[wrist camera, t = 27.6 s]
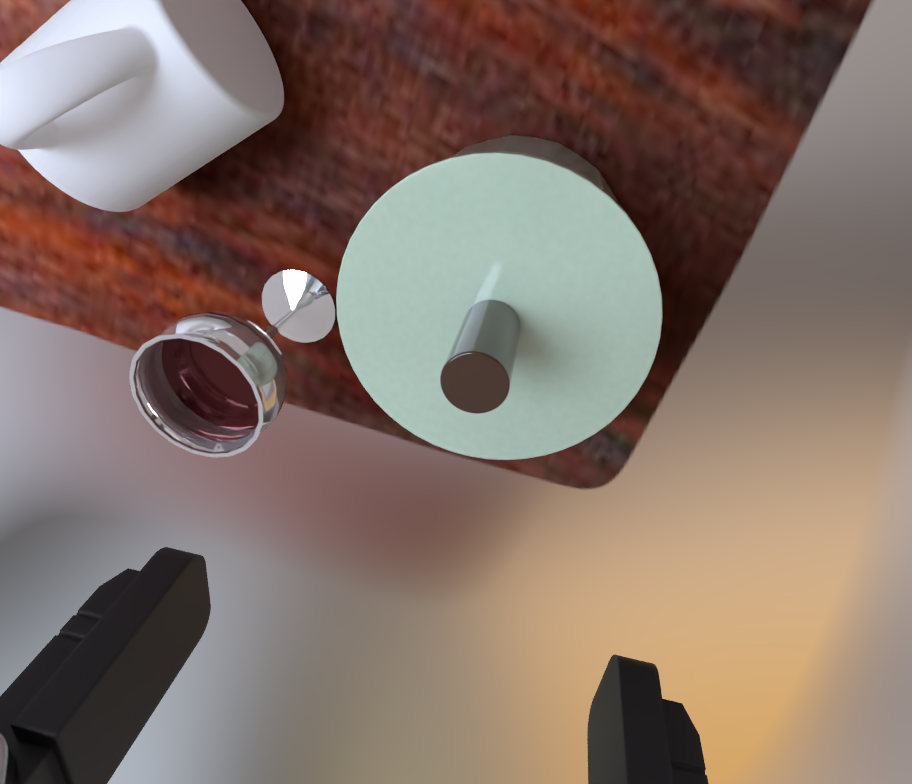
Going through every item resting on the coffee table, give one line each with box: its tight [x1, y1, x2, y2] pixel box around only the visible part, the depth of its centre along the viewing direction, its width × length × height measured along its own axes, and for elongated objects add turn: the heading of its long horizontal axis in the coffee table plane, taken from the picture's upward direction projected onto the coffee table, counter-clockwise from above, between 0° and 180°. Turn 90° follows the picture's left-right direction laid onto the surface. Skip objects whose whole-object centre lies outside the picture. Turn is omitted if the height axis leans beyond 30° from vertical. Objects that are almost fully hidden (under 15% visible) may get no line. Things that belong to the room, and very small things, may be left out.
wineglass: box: [129, 270, 335, 457], centre depth 33 cm, size 7×7×12 cm
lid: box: [336, 151, 663, 460], centre depth 23 cm, size 13×13×6 cm
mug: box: [0, 0, 284, 212], centre depth 27 cm, size 8×10×12 cm
